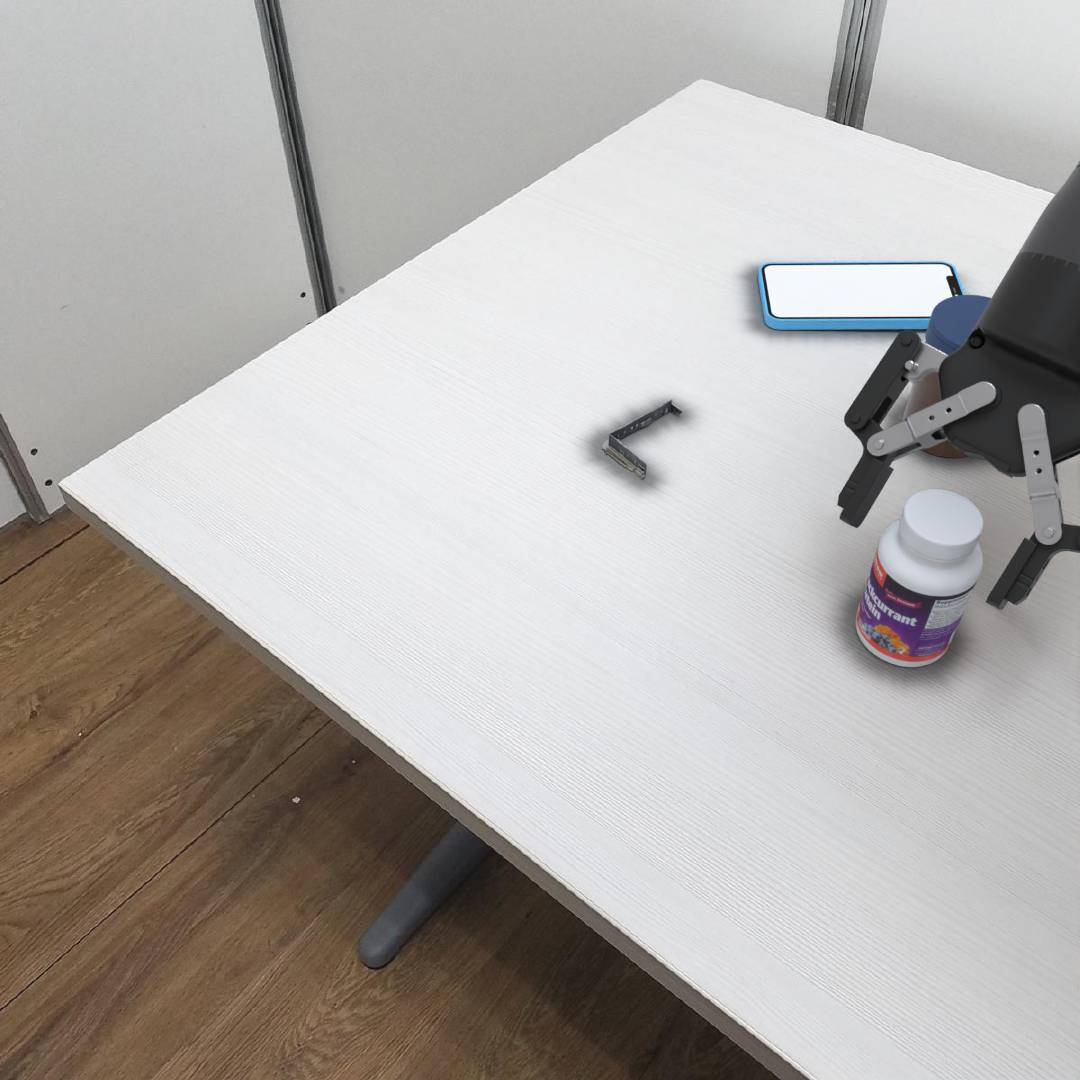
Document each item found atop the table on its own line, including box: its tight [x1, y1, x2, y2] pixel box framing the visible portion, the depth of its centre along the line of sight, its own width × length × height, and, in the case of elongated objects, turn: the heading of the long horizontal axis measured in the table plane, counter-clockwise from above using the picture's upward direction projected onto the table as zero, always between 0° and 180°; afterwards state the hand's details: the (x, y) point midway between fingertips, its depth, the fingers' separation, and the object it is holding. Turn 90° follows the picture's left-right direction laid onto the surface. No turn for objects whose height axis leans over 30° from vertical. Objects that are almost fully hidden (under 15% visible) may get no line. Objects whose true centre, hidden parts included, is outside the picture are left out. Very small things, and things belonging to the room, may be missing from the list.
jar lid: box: [924, 294, 992, 355], centre depth 72 cm, size 6×6×2 cm
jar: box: [901, 340, 968, 459], centre depth 75 cm, size 6×6×8 cm
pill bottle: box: [855, 488, 984, 668], centre depth 62 cm, size 5×5×10 cm
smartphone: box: [757, 260, 966, 331], centre depth 87 cm, size 8×1×15 cm
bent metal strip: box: [601, 398, 683, 480], centre depth 77 cm, size 7×1×5 cm
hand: (918, 564), depth 60 cm, fingers open, 8 cm apart
